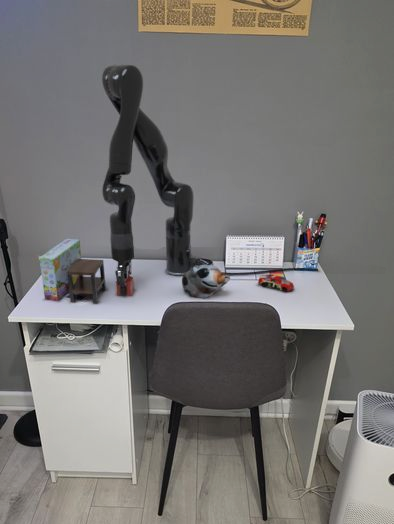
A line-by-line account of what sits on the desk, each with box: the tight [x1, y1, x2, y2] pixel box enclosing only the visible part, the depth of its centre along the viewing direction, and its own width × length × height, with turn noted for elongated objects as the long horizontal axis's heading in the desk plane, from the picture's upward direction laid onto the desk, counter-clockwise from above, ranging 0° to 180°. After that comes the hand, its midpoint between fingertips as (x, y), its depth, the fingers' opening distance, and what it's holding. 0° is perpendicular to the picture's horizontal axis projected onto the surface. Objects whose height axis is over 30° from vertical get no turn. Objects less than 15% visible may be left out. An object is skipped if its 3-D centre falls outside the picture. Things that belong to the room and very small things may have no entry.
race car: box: [257, 274, 295, 293], centre depth 177 cm, size 13×5×4 cm, turn 57°
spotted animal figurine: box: [181, 263, 231, 299], centre depth 169 cm, size 15×12×14 cm
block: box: [115, 276, 135, 297], centre depth 171 cm, size 5×5×5 cm
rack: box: [67, 258, 107, 304], centre depth 167 cm, size 9×12×11 cm
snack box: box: [39, 238, 82, 302], centre depth 171 cm, size 21×6×15 cm, turn 168°
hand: (125, 291), depth 172 cm, fingers closed on block, 5 cm apart
